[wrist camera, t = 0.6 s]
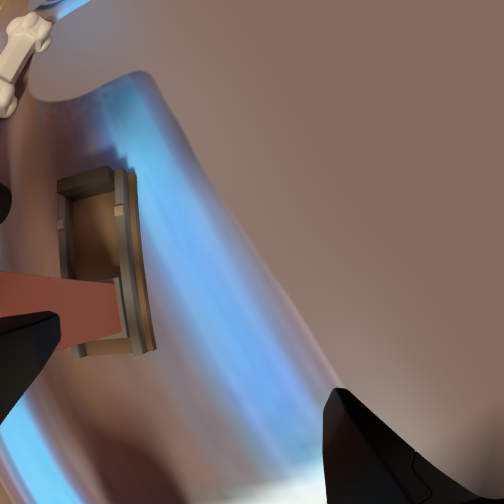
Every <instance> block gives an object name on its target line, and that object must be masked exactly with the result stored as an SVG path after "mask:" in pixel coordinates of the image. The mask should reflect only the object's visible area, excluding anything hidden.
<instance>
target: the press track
mask: <svg viewBox="0 0 504 504" xmlns="http://www.w3.org/2000/svg"><path fill="white" fill-rule="evenodd" d="M57 193H58V194H59V197H58V221H57V230H59V255H60V270H61V278H62V279H71V280H80V281H90V282H91V281H98V280H104V279H111V278H117V277H120V278H121V279H122V287H123V294H124V302H125V308H126V315H127V321H128V327H129V333H130V337H128V338H117V339H105V340H92V341H88V342H85V343H81V344H78V345H74V346H71V351H72V356H73V359H74V358H82V357H85V356H88V355H107V354H122V353H133V355H142V354H144V353H146V352H148V351H154V350H156V349H157V348H156V343H155V338H154V332H153V326H152V320H151V314H150V308H149V301H148V294H147V287H146V279H145V271H144V263H143V254H142V245H141V234H140V223H139V210H138V195H137V176H136V175H135V174H134V173H129V174H128V173H127V172H126V171H125V170H124V169H123V168H120V169H116V170H114V171H113V170H112V169H111V168H110V167H109V166H104V167H101V168H97V169H93V170H90V171H86V172H83V173H80V174H76V175H73V176H70V177H66V178H63V179H60V180H57Z"/></svg>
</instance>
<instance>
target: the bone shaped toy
mask: <svg viewBox="0 0 504 504" xmlns="http://www.w3.org/2000/svg"><path fill="white" fill-rule="evenodd" d="M51 30H52V23H51V22H47V21H45V20H44V19H43V18H41V17H40V16H38V14H37V13H35V12H31V13H29V14H27V15H26V16H24V17H17V18H15V19H14V20H12V21H11V22H10V24H9V25H8V27H7V29H6V33H7V34H8V44H7V46H6V47H5V49H4V50H3V52H2V53H1V55H0V118H8V117H10V116H11V115H12V114H13V112H14V111H15V109H16V107H17V102H18V101H17V98H16V97H15V94H14V93H15V87H14V84H15V83H16V81H17V79H18V77H19V75H20V73H21V72H22V70H23V68H24V66H25V64H26V63H27V61H28V59H29V58H30V56H31V54H33V53H41V52H44V51H45V50H46V49H47V48H48V47H49V45H50V44H51V41H52V38H51V36H49V34H50V32H51Z"/></svg>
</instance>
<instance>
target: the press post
mask: <svg viewBox="0 0 504 504" xmlns="http://www.w3.org/2000/svg"><path fill="white" fill-rule="evenodd" d="M42 311H52V312H54V313H57V314H58V315H59V316H60V324H61V340H60V342H59V344H58V345H57V347H56V349H55V350H59V349H63V348H66V347H70V346H74V345H78V344H81V343H85V342H88V341H92V340H105V339H117V338H128V337H130V333H129V327H128V321H127V315H126V308H125V302H124V294H123V287H122V279H121V278H120V277H117V278H111V279H104V280H98V281H91V282H90V281H80V280H71V279H62V278H53V277H44V276H36V275H28V274H20V273H12V272H5V271H0V317H6V316H14V315H21V314H28V313H35V312H42ZM55 350H54V351H55Z"/></svg>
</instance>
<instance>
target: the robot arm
mask: <svg viewBox="0 0 504 504" xmlns="http://www.w3.org/2000/svg"><path fill="white" fill-rule="evenodd" d="M60 340H61V324H60V316H59V315H58V314H57V313H54V312H52V311H42V312H35V313H28V314H21V315H14V316H6V317H0V425H1V423H2V422H3V421H4V419H5V418H6V416H7V415H8V414H9V412H10V411H11V410H12V408H13V407H14V406H15V404H16V403H17V402H18V400H19V399H20V398H21V396H22V395H23V394H24V392H25V391H26V390H27V388H28V387H29V386H30V385H31V383H32V382H33V381H34V380H35V378H36V377H37V376H38V374H39V373H40V372H41V370H42V369H43V367H44V366H45V364H46V362H47V361H48V359H49V358H50V356H51V355H52V353H53V352H54V350H55V349H56V347H57V345H58V344H59V342H60ZM322 453H323V465H324V475H325V485H326V496H327V504H504V498H500V499H488V498H484V497H480V496H478V495H476V494H474V493H472V492H471V491H469V490H467V489H466V488H465V487H463V486H462V485H460V484H459V483H457V482H456V481H454V480H452V479H451V478H450V477H448V476H447V475H445V474H444V473H443V472H441V471H440V470H438V469H437V468H436V467H435V466H433V465H432V464H431V463H430V462H428V461H427V460H426V459H425V458H424V457H422V456H421V455H420V454H419V453H418V452H415V450H414V449H413V448H412V447H411V446H410V445H408V444H407V443H406V442H405V441H404V440H403V439H402V438H401V437H399V436H398V435H397V434H396V433H395V432H394V431H393V430H392V429H390V428H389V427H388V426H387V425H386V424H385V423H384V422H383V421H382V420H380V419H379V418H378V417H377V416H376V415H375V414H374V413H373V412H372V411H371V410H369V409H368V408H367V407H366V406H365V405H364V404H363V403H361V401H360V400H358V399H357V398H356V397H355V396H354V395H353V394H352V393H351V392H350V391H349V390H347V389H344V388H334V389H333V390H332V392H331V394H330V396H329V398H328V401H327V403H326V405H325V407H324V411H323V447H322Z"/></svg>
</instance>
